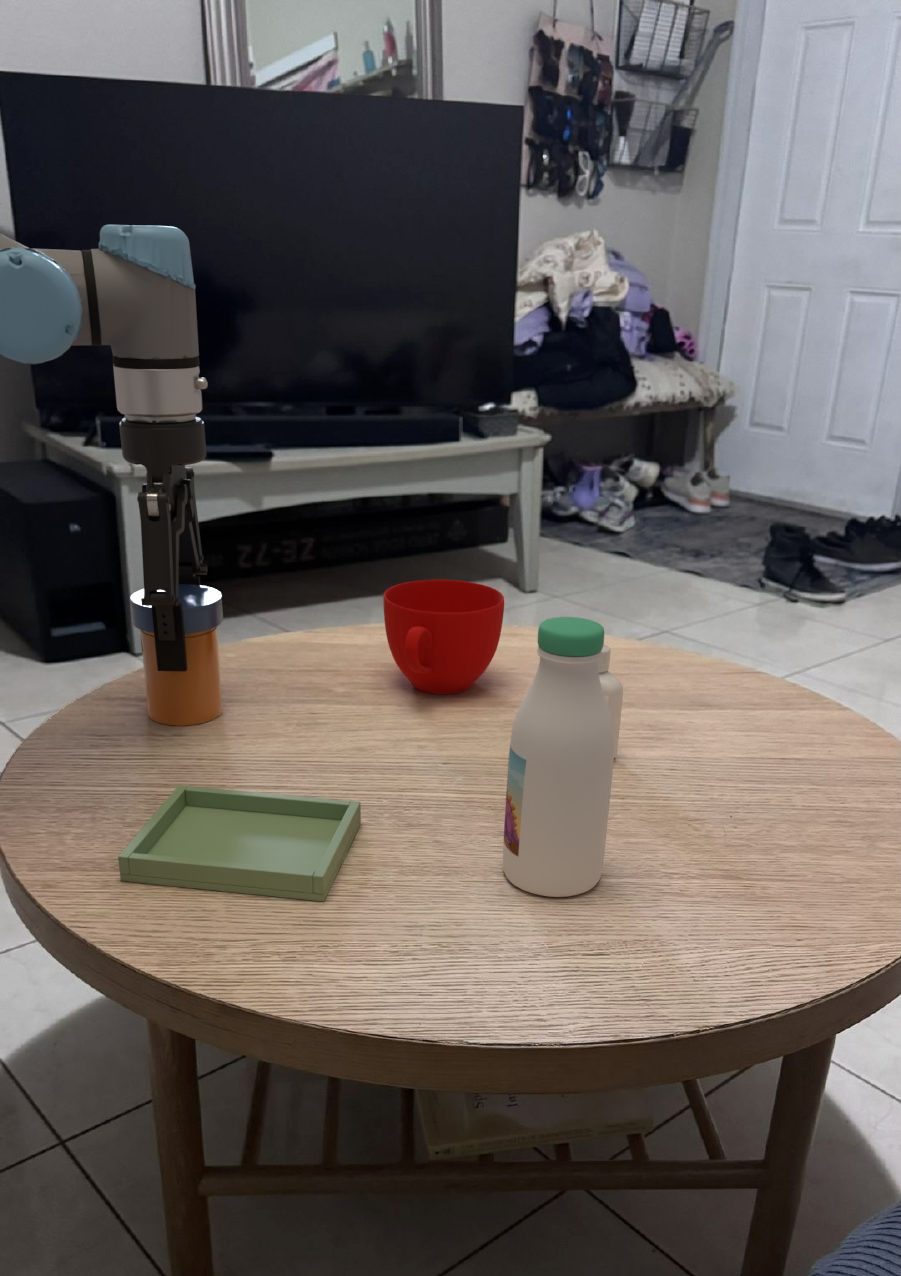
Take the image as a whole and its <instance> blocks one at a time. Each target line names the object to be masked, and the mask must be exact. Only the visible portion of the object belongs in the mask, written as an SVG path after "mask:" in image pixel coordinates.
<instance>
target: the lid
mask: <svg viewBox="0 0 901 1276" xmlns="http://www.w3.org/2000/svg"><path fill="white" fill-rule="evenodd" d="M157 591H164V590H157ZM141 598H144V588H142V589H139V590H137V591H135V592H133V593H132V594H131V595H130V597H129V600H130V601H129V602H130V611H131V620H132V621H131V622H132V625H133V626H134V627H135V628H136V629H137V630H139V631H140V630H143V631H146V632H151V633H154V628H153V618H152V608H151V606H142V603H141ZM178 603H182V609H183V620H184V632H185V634H189V633H197V632H202V631H206V630H209V629H212V628H215V627H217V628H218V627H219V626H220V625H221V624H222V623H223V621H224V609H223V594H222V592H221V591H219V590H218V589H216V588H214V587H210V586H207V585H191V584H179V602H178Z"/></svg>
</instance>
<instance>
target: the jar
mask: <svg viewBox="0 0 901 1276" xmlns="http://www.w3.org/2000/svg"><path fill="white" fill-rule="evenodd" d="M139 631H140V632H139V635H140V644H141V645H140V646H141V654H142V655H141V656H142V665H143V676H144V687H145V698H146V699H145V700H146V708H147V716H148V718H149V719H150V720H152V721H154V722H156V723H159V724H162V725H167V726H176V727H177V726H179V727H183V726H194V725H200V724H205V723H208V722H211V721H213V720H215V719H216V718H219V717H220V716H221V714H222V713H223V701H222V700H223V699H222V698H223V697H222V684H221V683H222V681H221V668H220V654H219V635H218V634H219V633H218V626H217V627H215V628H212V629H209V630H206V631H202V632H197V633H189V634H185V644H186V655H187V667H188V669H187V671H158V669H157V659H156V649H155V638H154V633H151V632H146V631H143V630H140V629H139Z"/></svg>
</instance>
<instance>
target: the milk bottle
mask: <svg viewBox="0 0 901 1276" xmlns="http://www.w3.org/2000/svg"><path fill="white" fill-rule="evenodd" d="M603 644H604V645H605V628H604V626H603V625H601V624H600V623H599V622H597V621H595V620H592V619H588V618H584V617H579V616H578V617H577V616H557V617H550V618H547V619H545V620H543V621H541V622H540V623H539V626H538V631H537V649H536V653H537V655H538V656H539V662H538V667H537V670H536V672H535V676H534V678H533V681H532V683H531V685H530V686H529V689H528V691H527V693H526V694H525V696H524V697H523V699H522V701H521V703H520V705H519V707H518V710H517V712H516V715H515V716H514V717H515V718H514V720H513V724H512V729H511V734H510V743H509V750H508V751H509V752H508V761H507V762H508V764H507V777H506V793H505V806H504V807H505V809H504V826H503V842H502V870H503V872H504V875H505V877H506V879H507V880H508V881H509V882H510V883H512V885H514V886H515V887H517V888H519V889H520V890H522V891H525V892H528V893H530V894H535V895H537V896H544V897H551V898H552V897H555V898H561V897H572V896H578V895H581V894H584V893H586V892H588V891H590V890H592V889H593V888H594V887H595V886H596V885H597V883H598V882H599V881H600V880H601V878H602V873H603V867H604V861H605V850H606V841H607V832H608V821H609V814H610V812H609V811H610V803H611V792H612V791H611V790H612V782H613V770H614V759H615V758H614V728H613V721H612V717H611V713H610V710H609V707H608V705H607V702H606V700H605V697H604V694H603V691H602V688H601V683H600V679H599V673H598V661H599V660H600V659H601V658H602V648H603Z"/></svg>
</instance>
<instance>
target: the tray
mask: <svg viewBox="0 0 901 1276" xmlns="http://www.w3.org/2000/svg"><path fill="white" fill-rule="evenodd" d="M361 804H362V803H361V801H355V800H345V799H334V798H324V797H323V798H322V797H311V796H302V795H291V794H290V795H289V794H280V793H279V794H277V793H270V792H269V793H268V792H259V791H258V792H257V791H245V790H235V789H223V788H213V787H201V786H191V785H180V784H179V785H177V787H176V788H175V789H174V790H173V791H172V793H171V794H170V795H169V796H168V797H167V798H166V799H165V801H164V802H163V803H162V805H160V806H159V808H158V809H157V810H156V811H155V813H154V814H153V815H152V816H151V817H150V818H149V819H148V821H147V822H146V823H145V824H144V825H143V827H142V828H141V829H140V830H139V831H138V832H137V833H136V835H135V836H134V837H133V838H132V839H131V841H130V842H129V843H128V844H127V845H126V846H125V848H124V849H123V850H122V851H121V852H120V854H118V856H117V861H118V869H119V877H120V878H119V880H120V881H121V882H127V883H128V882H129V883H138V884H147V885H148V884H149V885H158V886H168V887H177V888H188V889H196V890H197V889H199V890H205V891H206V890H207V891H216V892H217V891H218V892H227V893H236V894H246V895H247V894H248V895H255V896H266V897H267V896H268V897H276V898H285V899H295V900H305V901H313V902H314V901H315V902H325V900H326V898H327V896H328V894H329V892H330V889H331V888H332V886H333V884H334V881H335V880H336V877H337V875H338V873H339V871H340V868H341V867H342V865H343V862H344V860H345V859H346V857H347V854H348V852H349V850H350V847H351V846H352V844H353V842H354V839H355V837H356V835H357V833H358V831H359V828H360V826H361V823H362V819H361V817H362V813H361V812H362V810H361V807H362V806H361Z"/></svg>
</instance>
